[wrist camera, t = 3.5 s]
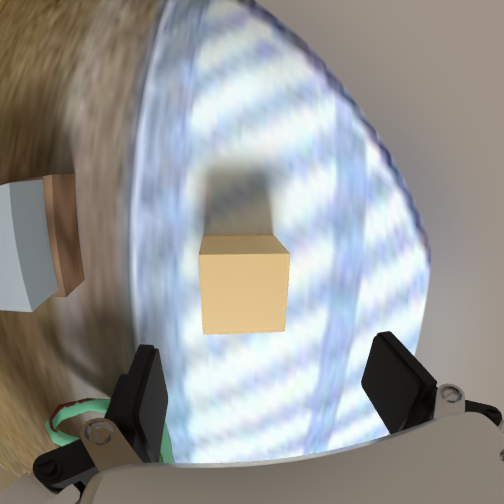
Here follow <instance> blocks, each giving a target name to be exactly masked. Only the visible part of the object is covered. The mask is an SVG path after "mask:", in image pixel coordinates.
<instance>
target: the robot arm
mask: <svg viewBox="0 0 504 504" xmlns="http://www.w3.org/2000/svg"><path fill="white" fill-rule="evenodd" d="M436 384H437V381H436V380H435V379H434V378H433V377H432V376H431V374H430V373H429V372H428V371H427V370H426V369H425V368H424V367H423V366H422V364H421V363H420V362H419V361H418V360H417V359H416V358H415V357H414V356H413V355H412V354H411V353H410V352H409V350H408V349H407V348H406V347H405V346H404V345H403V344H402V343H401V342H400V341H399V340H398V339H397V338H396V337H395V336H394V335H393V333H392V332H390V331H387V332H380V333H378V334H377V335H376V336H375V337H374V339H373V342H372V346H371V350H370V353H369V357H368V360H367V364H366V367H365V371H364V374H363V377H362V381H361V385H362V388H363V389H364V391H365V393H366V394H367V396H368V398H369V399H370V401H371V402H372V404H373V406H374V407H375V409H376V411H377V412H378V414H379V416H380V417H381V419H382V421H383V422H384V424H385V426H386V427H387V429H388V431H389V432H390V434H391V435H388V436H384V437H381V438H378V439H374V440H371V441H367V442H364V443H360V444H356V445H352V446H348V447H344V448H340V449H335V450H330V451H325V452H320V453H315V454H309V455H303V456H297V457H290V458H282V459H274V460H264V461H253V462H236V463H162V462H159V458H160V451H161V444H162V437H163V430H164V423H165V417H166V411H167V405H168V393H167V389H166V384H165V380H164V375H163V370H162V365H161V360H160V354H159V350H158V349H154V346H153V345H142V344H140V345H139V347H138V349H137V352H136V354H135V357H134V360H133V362H132V365H131V367H130V370H129V373H128V374H121V376H120V378H119V380H118V383H117V385H116V388H115V390H114V393H113V395H112V398H111V401H110V403H109V406H108V409H107V412H106V414H105V417H104V418H95V419H91V420H89V421H87V422H86V423H85V424H84V425H83V426H82V428H81V430H80V436H81V438H80V439H78V440H75V441H73V442H71V443H69V444H66V445H64V446H62V447H59V448H57V449H55V450H52V451H50V452H47V453H45V454H42V455H41V456H39V457H38V458H37V459H36V460H35V461H34V464H33V472H32V473H30V474H28V473H27V472H26V473H25V474H24V475H23V476H21V477H20V478H19V479H18V480H16V481H15V482H14V483H13V484H11V485H10V486H9V487H7V488H6V489H5V490H4V491H2V492H1V493H0V504H504V419H502V414H501V413H500V411H499V410H498V409H497V408H496V407H493V406H490V405H486V404H481V403H477V402H472V401H468V400H465V395H464V392H463V391H462V389H460V388H459V387H458V386H456V385H452V384H443V385H441V386H440V387H439V388H437V387H436Z"/></svg>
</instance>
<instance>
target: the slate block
mask: <svg viewBox="0 0 504 504" xmlns="http://www.w3.org/2000/svg"><path fill="white" fill-rule="evenodd" d="M58 289H59V286H58V282H57V277H56V273H55V268H54V263H53V258H52V252H51V246H50V240H49V233H48V226H47V218H46V209H45V198H44V184H43V180H32V181H23V182H14V183H8V184H4V185H1V186H0V310H8V311H22V312H33V311H34V310H35V309H36V308H37V307H39V306H40V305H41V304H42V303H43V302H44V301H45V300H47V299H48V298H49V297H50V296H51V295H52V294H54V293H55V292H56V291H57V290H58Z"/></svg>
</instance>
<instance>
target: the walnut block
mask: <svg viewBox="0 0 504 504" xmlns="http://www.w3.org/2000/svg"><path fill="white" fill-rule="evenodd" d="M32 180H43V184H44V198H45V209H46V218H47V226H48V233H49V240H50V246H51V252H52V258H53V263H54V268H55V273H56V277H57V282H58V286H59V289H58V290H57V291H56V292H55V293H54V294H52V295H51V296H56V297H67V296H68V295H69V294H70V293H71V292H72V291H73V290H74V289H75V288H76V287H77V286H78V285H80V284H81V283H82V282H83V281H84V280H85V278H84V272H83V266H82V259H81V251H80V243H79V234H78V223H77V210H76V191H75V174H54V175H46V176H40V177H35V178H29V179H24V180H19V181H14V182H23V181H32ZM14 182H9V183H14ZM4 184H8V183H4ZM4 184H0V186H1V185H4Z"/></svg>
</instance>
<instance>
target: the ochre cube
mask: <svg viewBox="0 0 504 504" xmlns="http://www.w3.org/2000/svg"><path fill="white" fill-rule="evenodd" d="M289 265H290V253H289V252H288V251H287V250H286V248H285V247H284V246H283V245H282V244H281V243H280V242H279V241H278V239H277V238H276V237H275V236H274V235H203V239H202V244H201V248H200V253H199V266H200V290H201V309H202V325H203V334H243V333H265V332H282V331H285V321H286V308H287V295H288V280H289Z"/></svg>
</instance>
